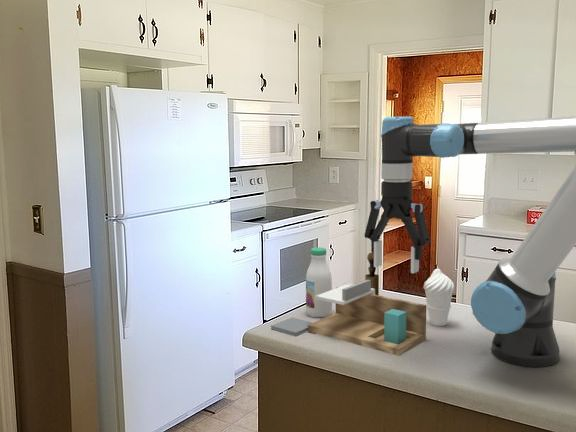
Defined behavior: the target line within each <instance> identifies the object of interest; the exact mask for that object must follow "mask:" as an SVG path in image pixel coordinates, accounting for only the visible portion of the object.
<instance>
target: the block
mask: <svg viewBox="0 0 576 432" xmlns="http://www.w3.org/2000/svg"><path fill="white" fill-rule="evenodd" d="M384 341H386V342H390V343H394V344H398V345H399V344H400V343H402V342H404V341H406V312H405V311H400V310H396V309H391V310H389V311H387V312H385V313H384Z"/></svg>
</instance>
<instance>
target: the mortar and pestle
mask: <svg viewBox="0 0 576 432" xmlns="http://www.w3.org/2000/svg"><path fill="white" fill-rule="evenodd" d="M366 258H367V261H368V263H369V267H367V268H368V274H365V279H364V281H365V280H371V288H373V289H375V295H379V296H380V294H379V293H380V292H379V289H380V287H379V286H380V285H379V283H380V282H379V281H380V280H379V277H380V275H379V274H376V270H377V267H374V253H372V252H369V253H368V254H367V256H366Z"/></svg>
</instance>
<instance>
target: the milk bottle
mask: <svg viewBox="0 0 576 432" xmlns="http://www.w3.org/2000/svg"><path fill="white" fill-rule="evenodd" d="M310 256H311V260H310V263H309V266H308V267H307V270H306V275H305V307H306V308H305V313H306V314H307V316H309V317H313V318H325V317H328V316H330V315H332V314H333V303H332V302H328V301H323V300H319V299H316V296H317V295H319V294H322V293H325V292H327V291H330V290H333V289H332V288H333V286H332V285H333V283H332V282H333V281H332V272H331V270H330V266H329V265H328V263H327V259H326V257H327V249H326V248H325V247H312V248H311V249H310Z"/></svg>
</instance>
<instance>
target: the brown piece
mask: <svg viewBox="0 0 576 432" xmlns="http://www.w3.org/2000/svg"><path fill="white" fill-rule="evenodd" d="M338 287H339V286H337V287H336V288H338ZM391 309H396V310H400V311H405V312H406V341H404V342H402V343H400V344H399V345H398V344H394V343H390V342H386V341H384V313H385V312H387V311H389V310H391ZM307 332H308V333H309V334H314V335H316V334H318V335H323V336H326V337H329V338H333V339H337V340H341V341H344V342H347V343H351V344H356V345H359V346H362V347H366V348H369V349H373V350H377V351H380V352H384V353H388V354H391V355H395V356H397V357H398V356H400V355H403V353H405V352H407V351H409V350H411V348H414V347H415V346H417V345H419V344H420V343H422V342H423V341H425V340H427V306H426V304H423V303H422V304H421V303H419V302H414V301H410V300H409V301H408V300H404V299H403V300H402V299H399V298H393V297H388V296H384V295H380V294H379V295H375V294H369V295H366V296H364V297H361V298H359V299H357V300H354V301H352V302H349V303H347V304H345V305H341V304H337V303H335V313H331V315H330V316H327V317H322V318H321V319H319V320H316V321H314V322H312V323H311V324H309V325H308V331H307Z"/></svg>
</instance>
